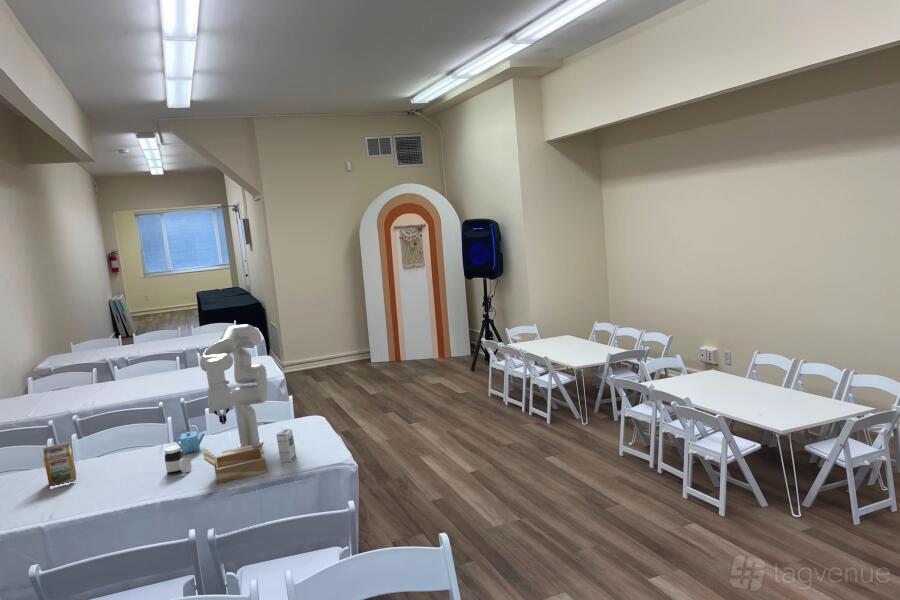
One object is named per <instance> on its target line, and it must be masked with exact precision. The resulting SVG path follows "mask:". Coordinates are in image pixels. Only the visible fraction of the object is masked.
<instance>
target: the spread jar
mask: <svg viewBox="0 0 900 600" xmlns="http://www.w3.org/2000/svg"><path fill="white" fill-rule="evenodd" d="M180 448H181V447H180V446H179V445H178V444H177V445H171V446H167V447H166V448H164V465H165V468H166V469H165V471H166V473H167V474H168V475H175V474H176V475H177V474H179V473H185V474H186V473H188V472H191V470H192V467H193V466H192V461H191V460H190V459H189V458H187V457H184V456H183V454H184V453H182V450H181V449H180Z"/></svg>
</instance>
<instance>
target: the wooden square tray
mask: <svg viewBox="0 0 900 600" xmlns="http://www.w3.org/2000/svg"><path fill="white" fill-rule="evenodd" d="M221 454H222V455H219V456H216V465H217V467H214V473H215V477H216V478H215V479H216V485H221V484H225V483H230V482H234V481H239V480H242V479H243V480H244V479H247V478H251V477H256V476H261V475H263V474H268V467H267V460H266V456H265V453H264V450H263V447H262V446H259V447H257V448H254V449H253V447H252V445H249V446H245V447H240V448H238V447H237V448H236V447H235V448H231V449H228V450H223V451H221Z"/></svg>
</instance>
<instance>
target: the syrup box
mask: <svg viewBox="0 0 900 600" xmlns="http://www.w3.org/2000/svg"><path fill="white" fill-rule="evenodd" d="M275 435H276V441H277V448H278V454H279V459H280V460H279V461H280V463H292V462H293V461H294V460H295V459H296V458H297V453H296V446H295V441H294V440H295V439H294V433H293V429H290V428H284V429H281V430H279V432H277V433H276V434H275Z"/></svg>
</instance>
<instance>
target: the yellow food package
mask: <svg viewBox="0 0 900 600" xmlns="http://www.w3.org/2000/svg"><path fill="white" fill-rule="evenodd" d="M42 449H43V462H44V467H45V472H46V477H47V480H48V486H49V488H50V486H55V485H60V484H64V483H69V482H74V481H75V480H76V481H77V477H76V475H77V471H76V466H75V461H74V456H73V449H72V447H71V445H70V442H63V443H59V444H53V445H50V446H44V447H43V448H42Z"/></svg>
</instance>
